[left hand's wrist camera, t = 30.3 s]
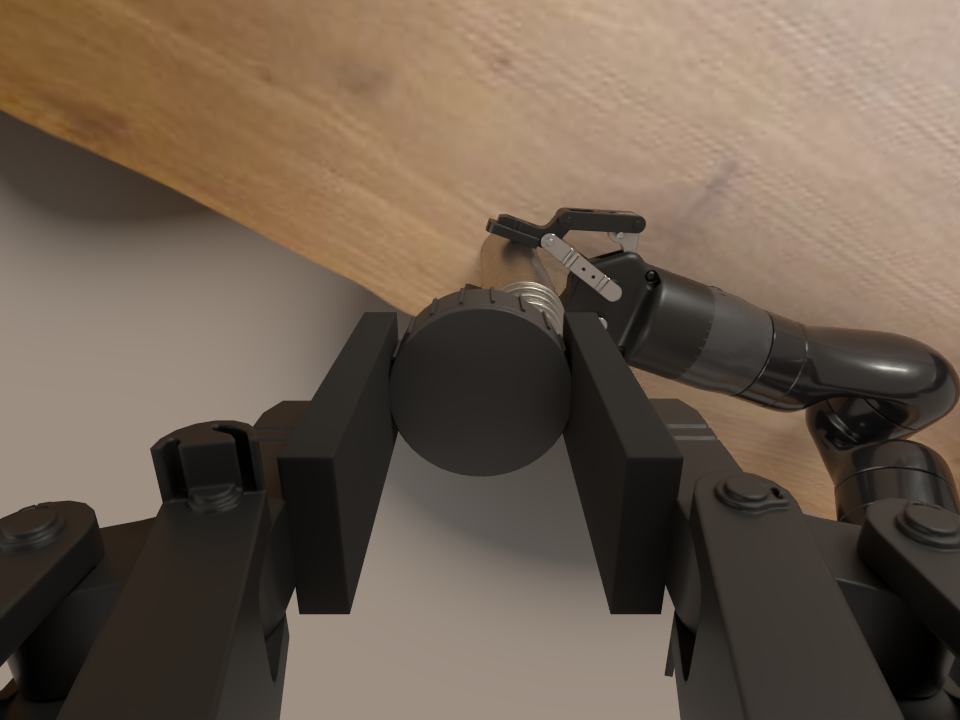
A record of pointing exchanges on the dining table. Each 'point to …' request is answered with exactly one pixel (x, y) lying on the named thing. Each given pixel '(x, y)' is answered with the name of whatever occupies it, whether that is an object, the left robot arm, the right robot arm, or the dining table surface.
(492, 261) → the bottle
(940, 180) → the dining table surface
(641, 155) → the dining table surface
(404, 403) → the cap
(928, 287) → the dining table surface
